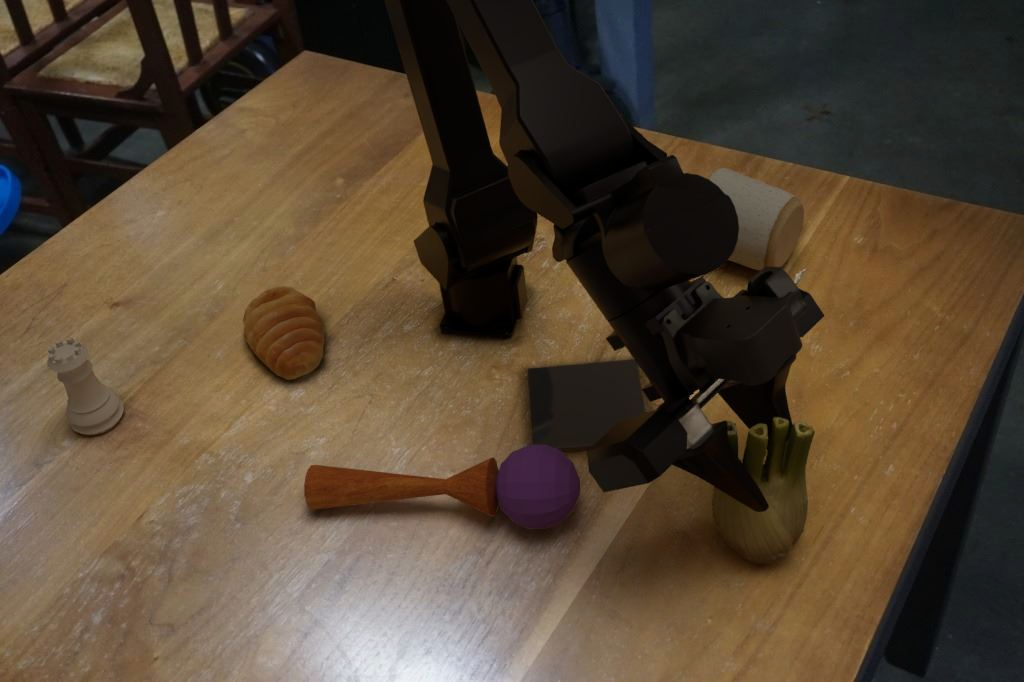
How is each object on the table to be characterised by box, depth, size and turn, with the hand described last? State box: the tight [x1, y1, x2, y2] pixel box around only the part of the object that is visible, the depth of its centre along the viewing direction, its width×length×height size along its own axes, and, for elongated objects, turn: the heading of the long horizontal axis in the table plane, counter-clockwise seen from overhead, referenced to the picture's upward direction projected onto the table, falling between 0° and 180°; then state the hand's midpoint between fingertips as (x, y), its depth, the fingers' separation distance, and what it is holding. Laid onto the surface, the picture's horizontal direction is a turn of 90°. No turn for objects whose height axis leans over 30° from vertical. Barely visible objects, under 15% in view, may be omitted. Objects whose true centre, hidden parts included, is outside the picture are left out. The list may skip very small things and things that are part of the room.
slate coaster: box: [527, 358, 647, 453], centre depth 87 cm, size 9×9×1 cm
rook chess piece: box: [46, 337, 125, 436], centre depth 89 cm, size 4×4×8 cm
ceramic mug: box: [707, 167, 805, 272], centre depth 98 cm, size 11×8×8 cm
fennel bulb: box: [711, 417, 816, 564], centre depth 72 cm, size 6×5×12 cm
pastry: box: [242, 285, 326, 381], centre depth 95 cm, size 9×7×4 cm
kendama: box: [303, 444, 581, 530], centre depth 80 cm, size 6×6×20 cm
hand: (780, 491), depth 71 cm, fingers closed on fennel bulb, 4 cm apart
